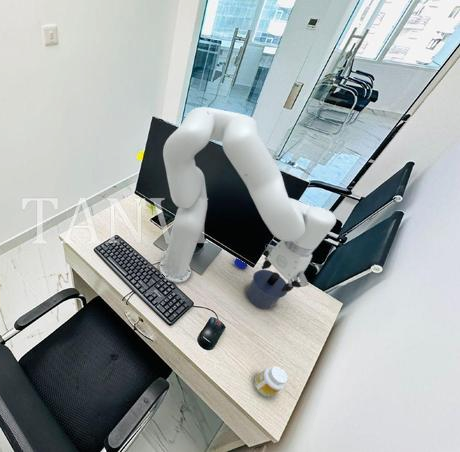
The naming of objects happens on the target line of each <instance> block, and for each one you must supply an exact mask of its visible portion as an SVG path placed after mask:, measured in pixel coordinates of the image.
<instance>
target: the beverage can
mask: <svg viewBox="0 0 460 452" xmlns="http://www.w3.org/2000/svg"><path fill="white" fill-rule="evenodd" d="M233 265H234V266H235V267H236V268H237V269H238V270H246V269H247V268H248V266H249V264H248V265H247V264H246V263H244V262H242V261H241V260H239V259H237V257H236V258H235V259H234V262H233Z"/></svg>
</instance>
